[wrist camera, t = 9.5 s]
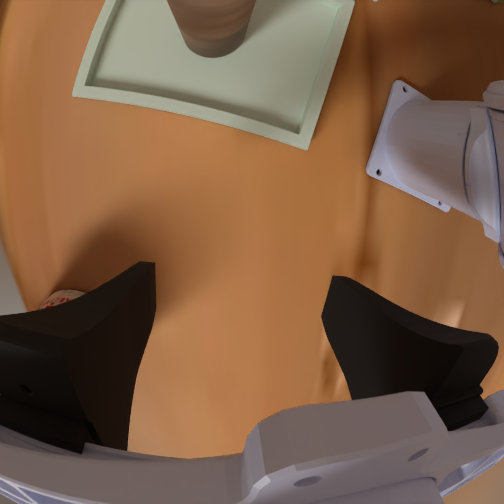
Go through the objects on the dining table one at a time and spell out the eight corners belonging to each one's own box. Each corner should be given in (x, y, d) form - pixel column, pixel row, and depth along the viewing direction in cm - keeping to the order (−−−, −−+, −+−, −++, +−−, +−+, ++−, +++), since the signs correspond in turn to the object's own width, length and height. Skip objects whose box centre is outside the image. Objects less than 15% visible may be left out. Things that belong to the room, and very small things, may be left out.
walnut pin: (254, 16, 15) (280, -52, 6) (232, 65, 16) (243, 17, 8) (196, 1, 14) (183, -73, 6) (174, 49, 15) (140, -4, 7)
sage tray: (347, 7, 15) (355, 1, 14) (301, 148, 19) (307, 150, 18) (137, -41, 12) (133, -50, 10) (80, 97, 16) (71, 96, 15)
